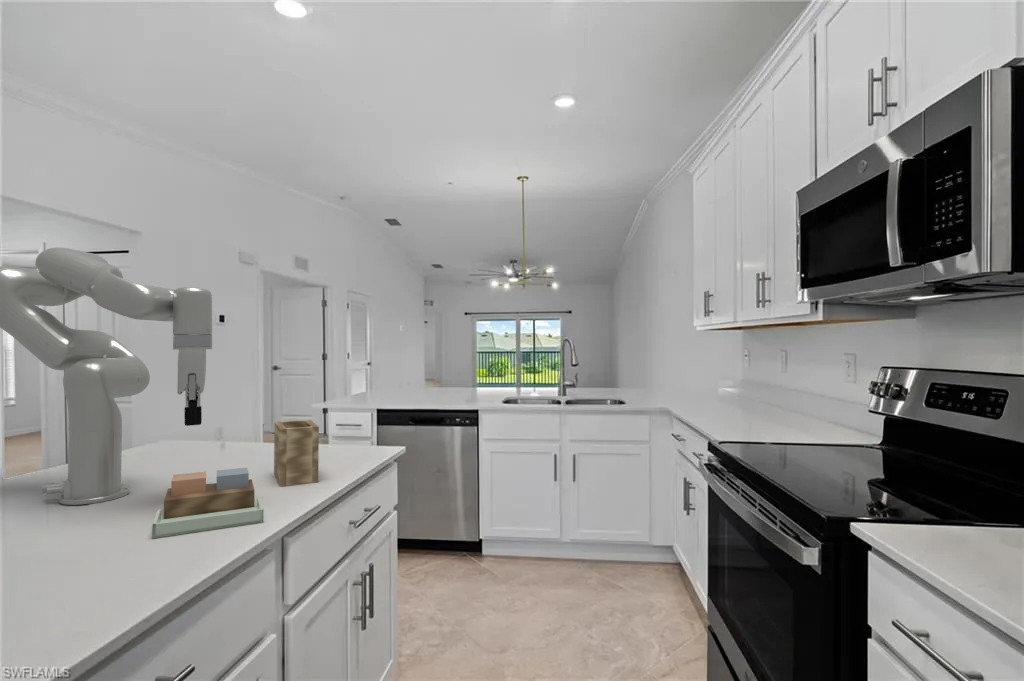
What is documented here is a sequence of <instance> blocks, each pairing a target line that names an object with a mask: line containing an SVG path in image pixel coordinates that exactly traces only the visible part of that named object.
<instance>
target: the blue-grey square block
mask: <svg viewBox="0 0 1024 681" xmlns="http://www.w3.org/2000/svg"><path fill="white" fill-rule="evenodd" d="M249 474H250V473H249V469H248V467H238V468H230V469H229V468H227V469H220V470H219V469H218V470H216V483H217V491H220V490H229V489H237V488H246V487H248V482H249V479H250V478H249Z"/></svg>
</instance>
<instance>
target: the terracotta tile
mask: <svg viewBox="0 0 1024 681" xmlns="http://www.w3.org/2000/svg"><path fill="white" fill-rule="evenodd" d="M171 478H172V479H171V482H170V483H171V486H170V488H171V496H177V495H186V494H194V493H203V492H206V484H207V471H197V472H189V473H180V474H179V473H178V474H172V477H171Z"/></svg>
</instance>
